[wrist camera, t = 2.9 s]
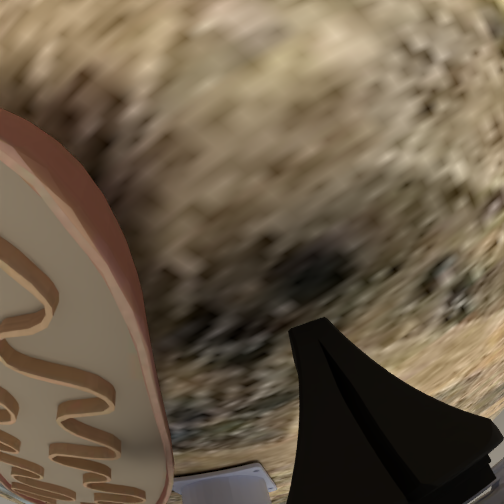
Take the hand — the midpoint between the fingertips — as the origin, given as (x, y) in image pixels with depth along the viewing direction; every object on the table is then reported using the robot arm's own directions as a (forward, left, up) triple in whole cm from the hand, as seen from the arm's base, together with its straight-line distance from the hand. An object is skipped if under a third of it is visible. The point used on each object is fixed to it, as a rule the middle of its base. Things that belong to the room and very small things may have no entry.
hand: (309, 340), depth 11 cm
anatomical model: (0, +11, -2) cm, 11 cm away
